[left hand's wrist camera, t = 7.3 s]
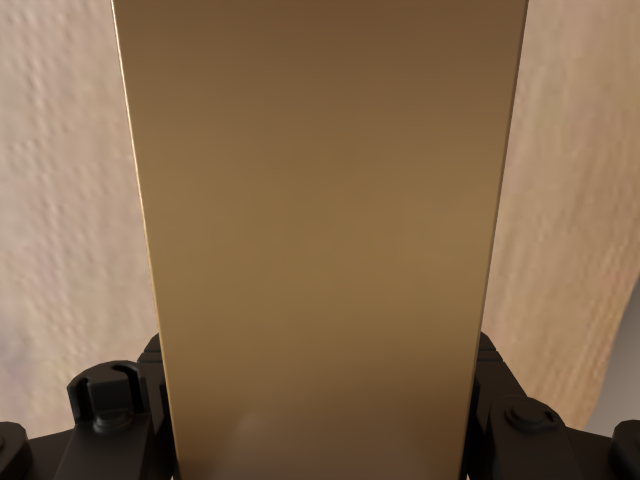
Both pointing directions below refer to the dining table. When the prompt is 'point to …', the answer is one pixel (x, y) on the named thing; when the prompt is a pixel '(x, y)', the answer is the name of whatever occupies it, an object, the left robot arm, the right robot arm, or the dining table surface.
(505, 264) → the dining table surface
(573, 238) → the dining table surface
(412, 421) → the bar
